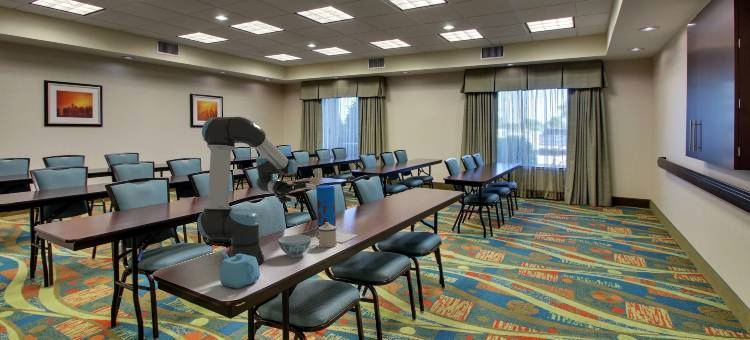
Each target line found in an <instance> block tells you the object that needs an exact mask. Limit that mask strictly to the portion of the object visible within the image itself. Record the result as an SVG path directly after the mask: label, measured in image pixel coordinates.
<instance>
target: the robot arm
mask: <svg viewBox="0 0 750 340" xmlns="http://www.w3.org/2000/svg"><path fill="white" fill-rule="evenodd" d="M266 135H267V134H266V132H265V131H264V129H262V127H261V126H259V125H258V124H257V123H255V122H254V121H252V120H250V119H248V118H246V117H242V116H217V117H211V118H209V119H207V120H206V121H205V122H204V123H203V125H202V128H201V136H202V138H203V141H204V142H205V143H206V144H207V145H206V146H207V148H208V149H209V150H210V153H209V154H210V155H209V156H210V158H209V174H208V175H209V177H208V179H209V180H208V194H207V195H208V197H207V205H205V206H204V207H203V211H202V212H201V213H200V214H199V215H198V218H197V220H196V222H197V223H196V224H197V225H196V226H197V230H198V232H199V234H201V236H202V237H204V238H206V239H222V240H230V241H231V243H230V244H231V248H230V252H229V255H228V257H229V258H230V257H234V256H235V255H236V254H245V255H249V256H254V257H256V259H257V262H258V266H260V265H263V264H264V263H265V255H264V254H263V251H262V248H261V245H260V230H259V229H260V227H259V226H260V225H259V224H260V220H259V214H258V213H257V212H256V211H255V210H252V209H247V208H242V209H241V208H236V209H233V208H232V206H230V204H229V200H230V184H231V183H230V180H231V161H232V160H231V157H232V151H234V149H235V147H236V144H245V145H248V147H250V148H254V149H255V150H256V151H257V152H258V153H260V156H257V157H256V158H255V164H256V171H257V174H258V175H257V176H258V177H257V178H256V179H255V180H256V181H255V187H256V189H258V190H260V191H262V192H267V193H271V194H274V197H275V198H277V199H278V201H279V202H280V203H281V204H282V203H284V204H286V203H288V202H292V203H295V204H297V203H298V200H297V197H295V196H291V195H288V194H290V193H291V192H293V191H296V190H300V189H307V190H312V191H316V190H317V189H316V187H317V186H316V184H313V183H310V180H297V181H296V180H294V181H293V180H292V183H288V182H286V181H285V180H281V179H275V178H274V175H295V174H296V173H297V171H298V162H297V161H296V160H295V159H288V158H287V157H286V155H285V154H284V153H283V152H282V151H281V150H280V149H279V148H278V147H277V146H276V145H275V144H274V143H273V142H272V141H271V140H270V139H269V138H268V137H267V136H266Z"/></svg>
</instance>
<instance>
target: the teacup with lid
mask: <svg viewBox="0 0 750 340" xmlns="http://www.w3.org/2000/svg"><path fill="white" fill-rule="evenodd" d="M336 233H337V226H336V227H335V226H332V225H331V224H329V222H326V223H325V225H323V226H321V227H319V228H318V227H317V230H315V233H314V234H315V237H316V239H317V240H318V245H319V247H320V248H324V249H325V248H327V249H328V248H335V246H337V243H336Z"/></svg>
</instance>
